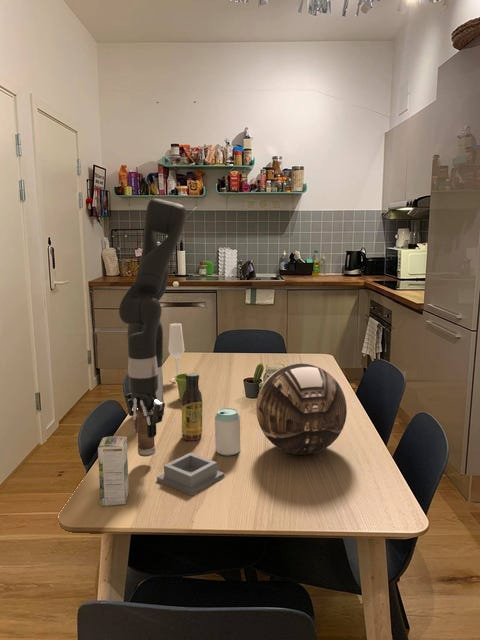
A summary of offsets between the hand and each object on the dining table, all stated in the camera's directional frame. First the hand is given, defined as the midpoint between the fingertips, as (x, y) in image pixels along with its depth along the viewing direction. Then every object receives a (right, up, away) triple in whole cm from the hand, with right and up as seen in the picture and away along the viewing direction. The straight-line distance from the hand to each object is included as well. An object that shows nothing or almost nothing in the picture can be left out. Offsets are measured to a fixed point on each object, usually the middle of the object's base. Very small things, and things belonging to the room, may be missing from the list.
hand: (145, 434), depth 135 cm
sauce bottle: (+11, -5, +19) cm, 22 cm away
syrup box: (-4, -12, -17) cm, 21 cm away
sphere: (+42, -7, +8) cm, 44 cm away
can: (+22, -7, +8) cm, 24 cm away
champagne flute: (-1, +5, +78) cm, 78 cm away
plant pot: (+6, +1, +54) cm, 55 cm away
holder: (+13, -10, -7) cm, 18 cm away
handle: (0, -5, +1) cm, 5 cm away
